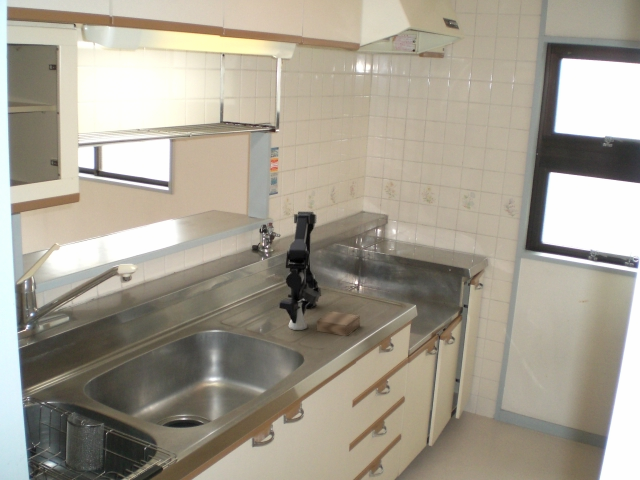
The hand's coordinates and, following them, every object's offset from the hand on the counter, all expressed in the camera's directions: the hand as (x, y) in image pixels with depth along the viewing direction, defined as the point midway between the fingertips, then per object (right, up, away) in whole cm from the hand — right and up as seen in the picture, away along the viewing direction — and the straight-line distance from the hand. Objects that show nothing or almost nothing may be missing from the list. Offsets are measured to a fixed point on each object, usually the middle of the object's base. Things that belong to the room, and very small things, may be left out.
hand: (298, 320), depth 260 cm
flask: (0, -3, +1) cm, 3 cm away
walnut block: (+15, -3, 0) cm, 15 cm away
